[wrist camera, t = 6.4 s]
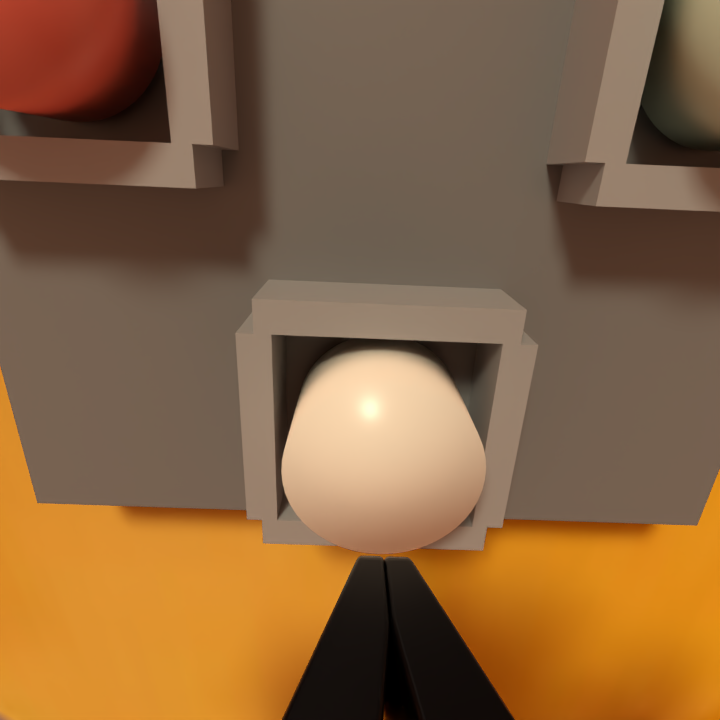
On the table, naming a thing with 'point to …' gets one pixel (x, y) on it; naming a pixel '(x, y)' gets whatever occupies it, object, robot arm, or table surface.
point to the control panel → (369, 257)
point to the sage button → (686, 74)
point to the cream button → (382, 448)
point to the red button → (76, 56)
